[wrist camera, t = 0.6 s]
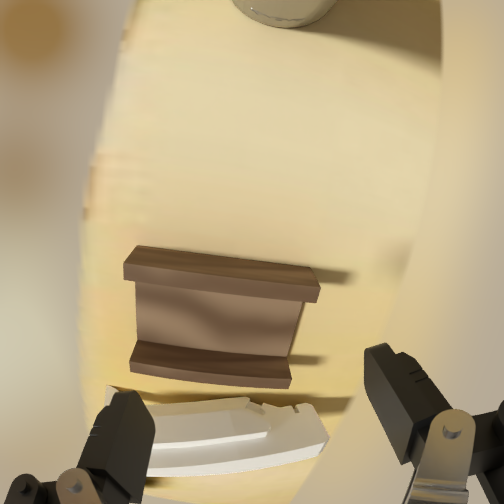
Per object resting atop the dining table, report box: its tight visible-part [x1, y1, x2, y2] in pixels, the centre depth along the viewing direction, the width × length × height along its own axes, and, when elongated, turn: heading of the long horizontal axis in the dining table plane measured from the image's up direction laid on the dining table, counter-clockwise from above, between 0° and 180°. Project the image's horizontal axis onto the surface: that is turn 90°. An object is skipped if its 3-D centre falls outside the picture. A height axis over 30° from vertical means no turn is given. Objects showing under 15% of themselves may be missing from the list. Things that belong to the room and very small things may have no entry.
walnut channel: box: [123, 246, 321, 389], centre depth 28 cm, size 12×16×4 cm
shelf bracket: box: [104, 385, 330, 477], centre depth 31 cm, size 6×25×13 cm, turn 83°
